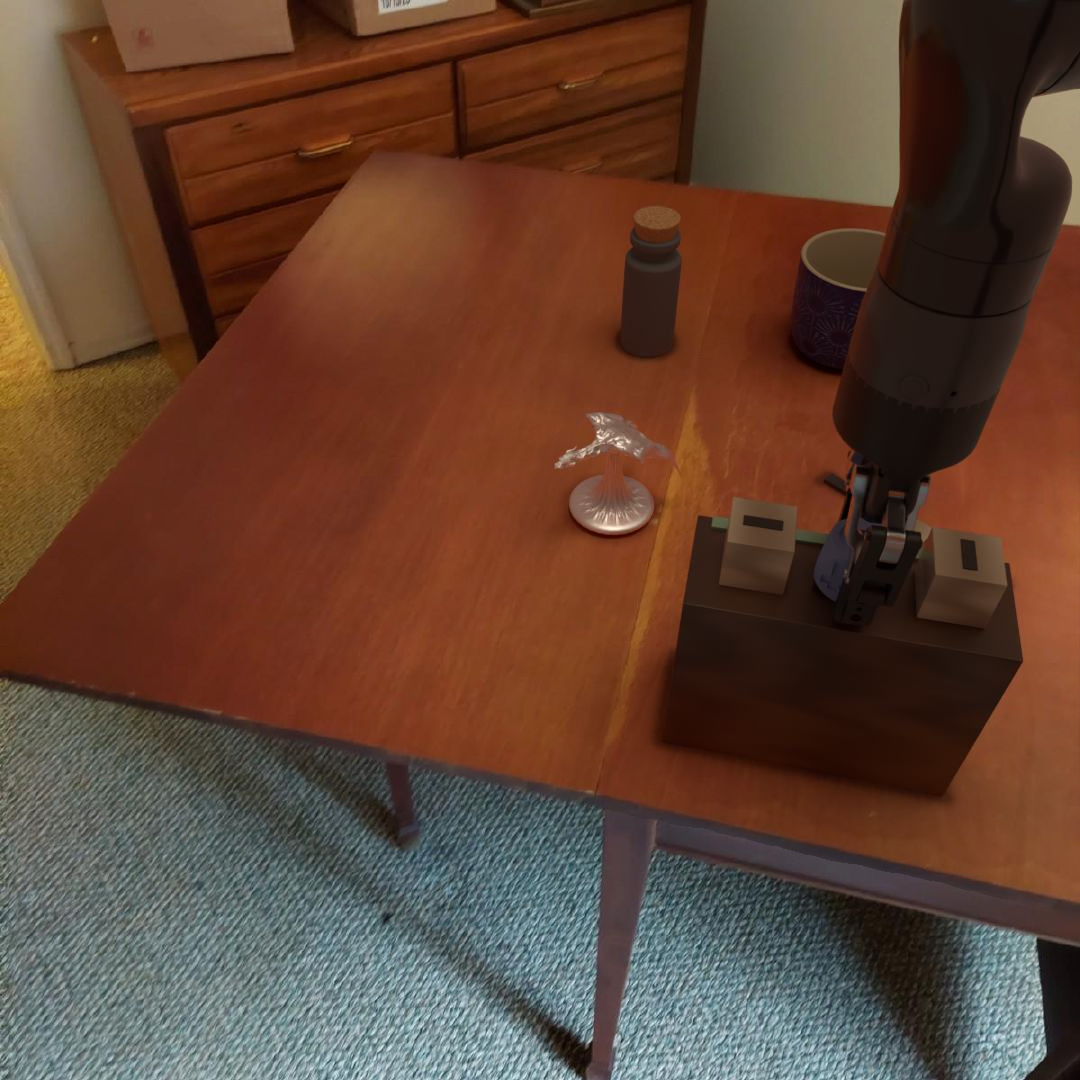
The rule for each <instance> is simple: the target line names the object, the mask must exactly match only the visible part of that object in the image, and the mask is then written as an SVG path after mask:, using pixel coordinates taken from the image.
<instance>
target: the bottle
mask: <svg viewBox="0 0 1080 1080" xmlns="http://www.w3.org/2000/svg"><path fill="white" fill-rule="evenodd" d="M632 217H633V225H634V227H633V228H632V229H631V230H630V234H629V242H630V245H631V248H629V249H628V250H627V252H626V253H625V257H624V258H625V259H624V270H623V283H622V285H623V286H622V300H621V301H622V304H621V317H620V319H621V320H620V335H619V336H620V340H619V341H620V346H621V347H622V349H623V350H624V351H625V352H627V354H629V355H632V356H633V357H635V356H636V357H638V358H647V359H650V358H652V359H653V358H656V357H661V356H663V355H665V354H667V353H668V352H669V351H670V350H671V349H672V347H673V343H674V335H675V327H676V318H677V311H678V302H679V301H678V300H679V291H680V290H679V289H680V283H681V282H680V280H681V273H682V262H683V261H682V260H683V258H682V255H681V253H680V252H679V251H678V248H679V247H680V244H681V240H682V239H681V237H682V234H681V231H680V230H679V227H680V224H681V219H682V217H681V215H680V214H679V212H678V211H677V210H675V209H674V208H671V207H668V206H661V205H648V206H644V207H641V208H640V209H637V211H635V212H634V214H633V216H632Z"/></svg>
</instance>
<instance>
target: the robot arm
mask: <svg viewBox="0 0 1080 1080" xmlns="http://www.w3.org/2000/svg"><path fill="white" fill-rule="evenodd" d="M901 6H902V7H901V11H900V17H899V26H898V79H899V80H898V82H899V83H898V85H899V86H898V89H899V92H898V93H899V97H898V98H899V119H898V120H899V122H898V123H899V124H898V126H899V128H898V148H899V149H898V151H899V157H898V159H899V161H898V162H899V178H898V181H899V182H898V189H897V193H896V195H895V199H894V202H893V205H892V209H891V213H890V216H889V220H888V223H887V227H886V231H885V233H886V234H885V238H884V242H883V245H882V249H881V252H880V256H879V260H878V263H877V266H876V269H875V272H874V274H873V277H872V279H871V281H870V283H869V286H868V288H867V290H866V292H865V295H864V297H863V300H862V303H861V306H860V309H859V313H858V317H857V320H856V324H855V328H854V331H853V335H852V339H851V342H850V346H849V350H848V353H847V357H846V361H845V365H844V368H843V369H842V372H841V376H840V379H839V383H838V387H837V391H836V395H835V398H834V402H833V406H832V422H833V427H834V428H835V430H836V432H837V434H838V436H839V437H840V438H841V440H842V441H843V442H844V443H845V444H846V445H847V446H848V447H849V448H850V450H848V452H847V457H846V459H847V462H846V470H845V479H844V481H845V485H846V491H849V492H847V494H846V496H845V498H844V501H843V504H842V507H841V510H840V514H839V517H838V520H837V522H838V521H841V520H844V519H847V522H846V527H845V531H844V536H845V539H846V542H847V544H848V546H850V551H849V556H848V560H847V565H846V569H844V571H843V581H842V584H841V587H840V590H839V593H838V596H837V599H836V602H835V605H834V612H833V618H834V620H835V621H837V622H839V623H845V624H851V625H857V626H864V627H865V626H868V625H870V624H871V622H872V620H873V617H874V614H875V612H876V609H877V607H878V605H879V606H886V607H893V606H894V604H895V602H896V601H897V597H898V595H899V593H900V591H901V589H902V587H903V584H904V582H905V580H906V578H907V576H908V574H909V571H910V569H911V567H912V565H913V563H914V561H915V559H916V556H917V554H918V552H919V549H921V547H922V539H921V532H917V531H914V529H915V525H916V520H917V519H918V515H919V512H920V509H921V508H922V507H924V506H925V504H926V503H927V499H928V495H929V491H930V487H931V481H932V478H931V475H932V474H933V473H936V472H939V471H943V470H947V469H948V468H952V467H953V466H956V465H958V464H960V463H961V462H963V461H964V460H966V459H968V457H969V456H971V454H972V453H973V452H974V451H975V449H976V447H977V445H978V443H979V441H980V439H981V436H982V434H983V431H984V429H985V427H986V424H987V422H988V419H989V416H990V414H991V412H992V409H993V407H994V405H995V402H996V400H997V398H998V396H999V393H1000V392H1001V391H1000V390H1001V389H1002V385H1003V384H1004V381H1005V379H1006V376H1007V374H1008V371H1009V370H1010V367H1011V364H1012V362H1013V360H1014V357H1015V355H1016V353H1017V350H1018V347H1019V345H1020V342H1021V340H1022V337H1023V334H1024V331H1025V327H1026V322H1027V317H1028V314H1029V310H1030V306H1031V303H1032V300H1033V298H1034V295H1035V292H1036V290H1037V288H1038V285H1039V283H1040V281H1041V278H1042V276H1043V273H1044V272H1045V269H1046V266H1047V264H1048V262H1049V260H1050V257H1051V255H1052V253H1053V249H1054V247H1055V245H1056V242H1057V239H1058V238H1059V235H1060V232H1061V229H1062V227H1063V224H1064V221H1065V219H1066V216H1067V214H1068V213H1067V212H1068V210H1069V206H1070V204H1071V201H1072V200H1071V199H1072V195H1073V176H1072V173H1071V171H1070V168H1069V166H1068V163H1066V161H1065V160H1064V158H1063V157H1062V156H1061V155H1060V154H1059V153H1057V152H1056V151H1055V150H1053V149H1052V148H1051V147H1049V146H1047V145H1046V144H1044V143H1042V142H1039V141H1037V140H1035V139H1032V138H1029V137H1025V136H1022V135H1021V132H1022V125H1023V122H1024V121H1023V120H1024V117H1025V114H1026V112H1027V110H1028V107H1029V104H1030V103H1031V101H1032V99H1034V98H1038V97H1044V96H1049V95H1053V94H1058V93H1063V92H1068V91H1073V90H1080V0H902V5H901ZM860 518H863V519H864V520H865V521H867V522H869V523H875V524H881V526H878V525H870V527H869V530H868V531H867V530H862V529H860V528H858V526H859V522H860Z"/></svg>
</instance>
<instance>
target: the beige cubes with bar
mask: <svg viewBox="0 0 1080 1080" xmlns="http://www.w3.org/2000/svg"><path fill="white" fill-rule="evenodd" d="M823 483H824V484H826V485H827V486H829V487H831V488H832V489H834V490H835V491H837V492H839V493H840V494H842V495H844V496H845V497H846V494H847V492H849V491H846V485H845V479H843V478H842V477H839V476H838V475H836V474H835V473H831V474H829V475H827V476H826V477H825V478H824V479H823ZM932 527H933V526H930V525H929V524H927V523H925V522H924V521H922V520H920V519H919V518H917V520H916V525H915V529H914V531H917V532H921V539H922V547H921V548H924V545H925V543H926V541H927V538H928V536H929V533H930V531H931V528H932Z"/></svg>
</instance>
